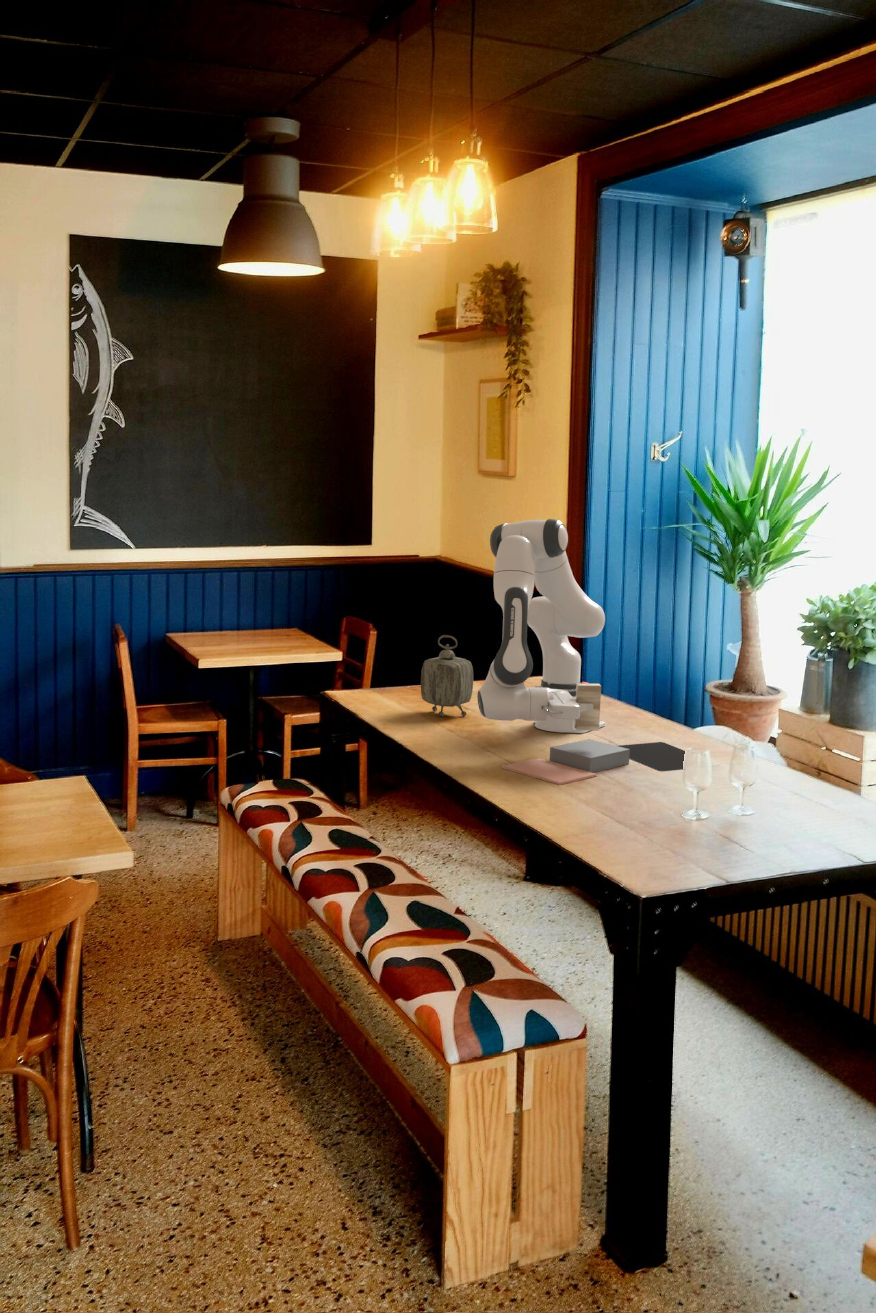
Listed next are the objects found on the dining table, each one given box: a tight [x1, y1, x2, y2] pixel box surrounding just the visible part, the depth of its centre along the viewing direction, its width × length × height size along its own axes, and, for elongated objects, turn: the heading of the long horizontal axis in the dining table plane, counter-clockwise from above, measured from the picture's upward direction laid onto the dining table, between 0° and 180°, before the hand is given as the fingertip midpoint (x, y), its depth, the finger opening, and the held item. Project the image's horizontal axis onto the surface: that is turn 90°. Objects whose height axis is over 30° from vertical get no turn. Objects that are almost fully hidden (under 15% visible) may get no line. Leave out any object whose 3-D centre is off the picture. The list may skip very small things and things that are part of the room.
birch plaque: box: [574, 683, 602, 732], centre depth 324 cm, size 3×6×12 cm, turn 94°
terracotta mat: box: [501, 757, 598, 786], centre depth 316 cm, size 14×20×1 cm
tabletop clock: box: [420, 634, 474, 717], centre depth 376 cm, size 14×9×25 cm, turn 58°
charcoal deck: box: [549, 738, 630, 773], centre depth 326 cm, size 16×14×4 cm
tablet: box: [618, 741, 686, 772], centre depth 336 cm, size 27×1×20 cm
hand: (591, 704), depth 324 cm, fingers closed on birch plaque, 3 cm apart
